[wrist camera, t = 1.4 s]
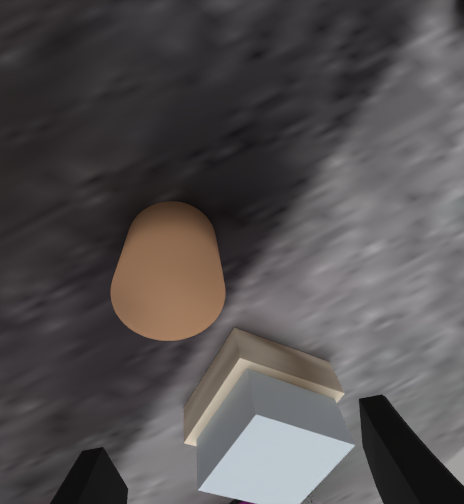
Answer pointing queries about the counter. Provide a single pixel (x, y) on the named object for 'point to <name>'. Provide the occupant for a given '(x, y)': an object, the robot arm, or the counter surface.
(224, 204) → the counter surface
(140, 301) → the light brown cylinder
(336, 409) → the grey-blue top block
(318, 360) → the birch base block
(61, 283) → the counter surface
